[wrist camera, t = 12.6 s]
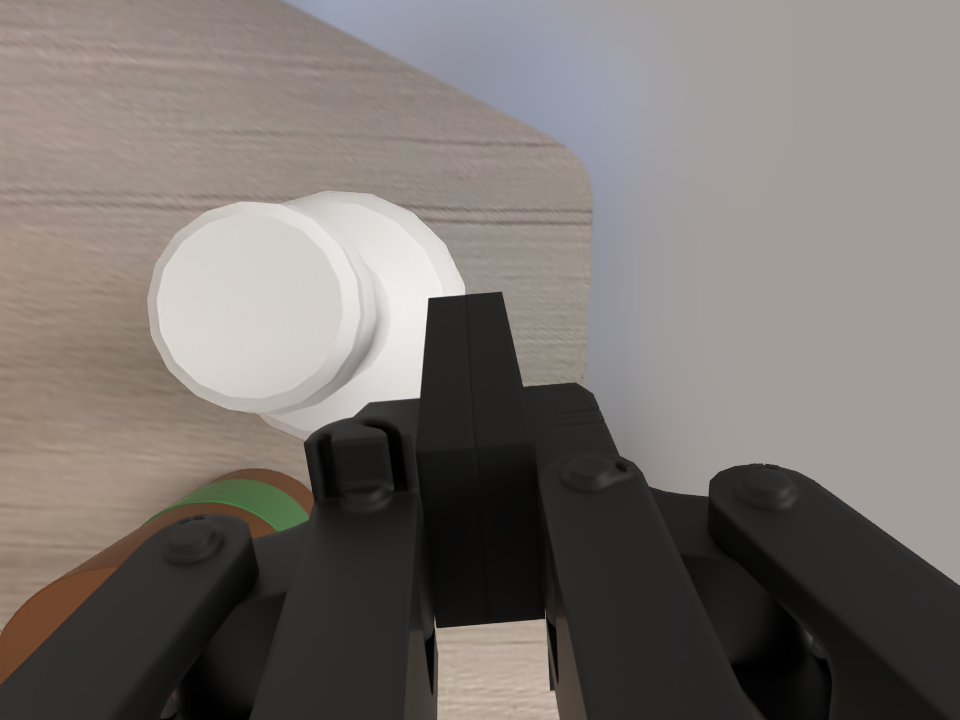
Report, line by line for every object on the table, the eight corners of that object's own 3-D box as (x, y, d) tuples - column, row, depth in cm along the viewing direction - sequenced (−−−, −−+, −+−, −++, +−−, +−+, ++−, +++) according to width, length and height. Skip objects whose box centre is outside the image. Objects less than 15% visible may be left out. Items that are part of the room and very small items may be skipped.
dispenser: (152, 580, 43) (-162, 841, 21) (218, 441, 43) (-28, 556, 21) (309, 651, 43) (163, 978, 21) (374, 513, 43) (295, 701, 21)
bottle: (486, 359, 43) (565, 416, 13) (359, 421, 43) (146, 623, 13) (423, 229, 43) (355, -15, 13) (295, 292, 43) (-77, 192, 13)
